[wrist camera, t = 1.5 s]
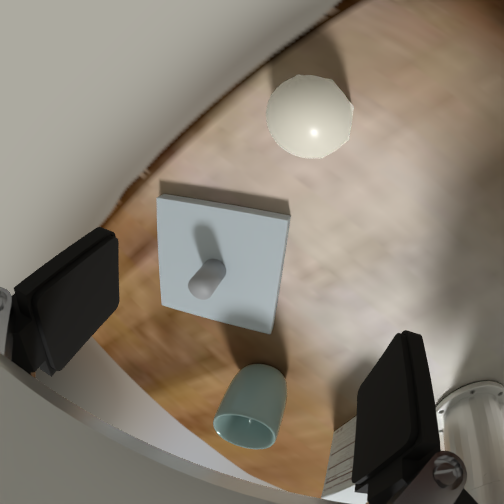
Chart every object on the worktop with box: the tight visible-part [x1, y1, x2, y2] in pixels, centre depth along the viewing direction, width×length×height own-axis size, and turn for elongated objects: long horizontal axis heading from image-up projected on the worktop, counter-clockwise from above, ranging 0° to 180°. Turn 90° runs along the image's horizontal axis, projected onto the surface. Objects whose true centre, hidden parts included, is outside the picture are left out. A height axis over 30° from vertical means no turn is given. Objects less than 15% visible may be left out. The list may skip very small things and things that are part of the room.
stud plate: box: [157, 194, 291, 334], centre depth 34 cm, size 14×14×6 cm
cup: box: [213, 364, 287, 449], centre depth 38 cm, size 8×8×10 cm
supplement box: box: [321, 416, 368, 504], centre depth 37 cm, size 7×7×13 cm
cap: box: [266, 75, 354, 159], centre depth 24 cm, size 6×6×6 cm
